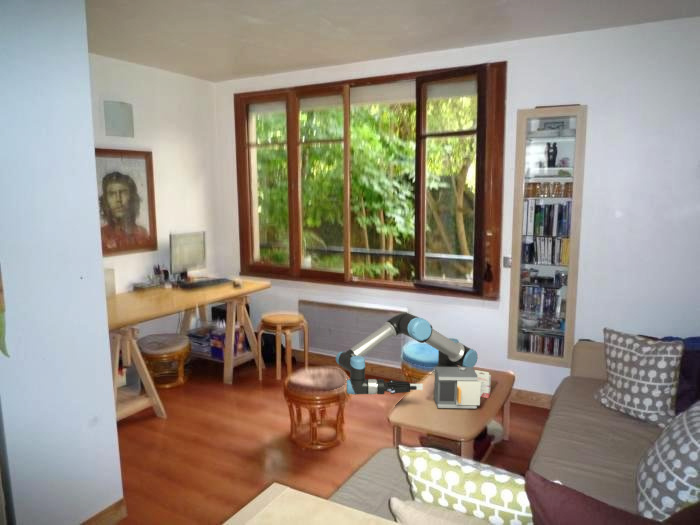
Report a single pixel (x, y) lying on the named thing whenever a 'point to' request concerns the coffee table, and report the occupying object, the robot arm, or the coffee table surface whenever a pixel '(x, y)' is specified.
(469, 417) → the coffee table surface
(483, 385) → the ink cartridge box
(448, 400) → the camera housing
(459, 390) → the white boxy piece
